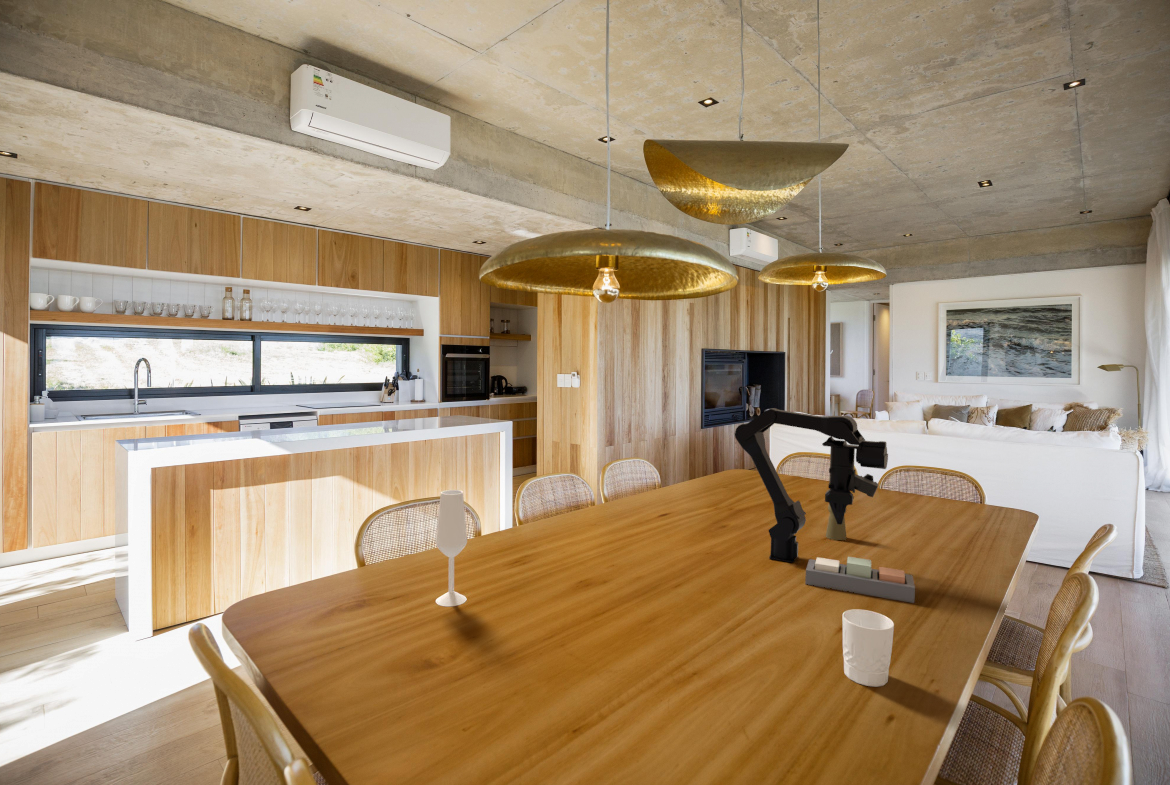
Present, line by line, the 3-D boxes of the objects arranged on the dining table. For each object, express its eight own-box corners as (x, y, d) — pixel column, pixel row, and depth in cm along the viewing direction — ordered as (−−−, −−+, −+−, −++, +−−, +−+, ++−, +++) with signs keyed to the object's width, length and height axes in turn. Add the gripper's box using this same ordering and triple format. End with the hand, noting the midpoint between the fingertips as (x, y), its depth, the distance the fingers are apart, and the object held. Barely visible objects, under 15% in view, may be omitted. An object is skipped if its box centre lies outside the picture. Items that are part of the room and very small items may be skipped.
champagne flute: (439, 608, 122) (440, 496, 121) (432, 597, 128) (432, 490, 127) (470, 603, 125) (471, 494, 124) (462, 592, 131) (462, 487, 130)
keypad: (805, 584, 140) (805, 569, 139) (808, 572, 148) (809, 559, 148) (914, 603, 129) (914, 587, 129) (911, 589, 137) (912, 575, 137)
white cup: (831, 664, 102) (833, 609, 101) (873, 663, 103) (876, 608, 102) (856, 690, 94) (858, 630, 94) (901, 688, 95) (904, 629, 94)
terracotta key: (878, 590, 134) (879, 573, 134) (878, 583, 139) (879, 566, 139) (904, 594, 132) (905, 577, 132) (903, 587, 137) (904, 570, 136)
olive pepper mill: (848, 541, 175) (850, 505, 174) (827, 540, 176) (829, 504, 175) (844, 535, 181) (845, 501, 180) (823, 534, 182) (825, 499, 181)
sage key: (846, 579, 137) (846, 562, 137) (847, 572, 142) (847, 556, 142) (870, 583, 135) (871, 566, 135) (870, 576, 140) (871, 560, 139)
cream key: (814, 579, 140) (815, 563, 140) (816, 572, 145) (816, 557, 145) (837, 583, 138) (838, 567, 138) (838, 576, 143) (839, 560, 143)
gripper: (876, 473, 137) (873, 538, 138) (877, 462, 154) (874, 520, 154) (825, 468, 142) (823, 531, 143) (831, 458, 159) (829, 514, 160)
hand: (839, 524), depth 150 cm, fingers closed
